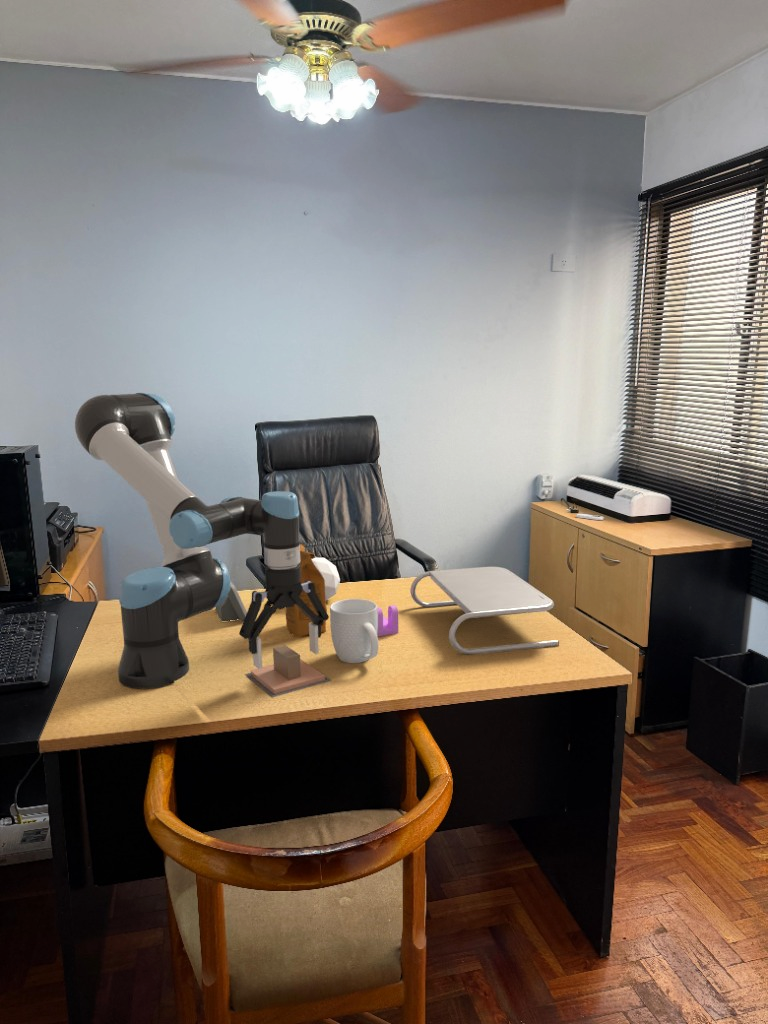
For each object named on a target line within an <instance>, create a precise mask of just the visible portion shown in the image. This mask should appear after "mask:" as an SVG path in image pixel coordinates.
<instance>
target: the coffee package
mask: <svg viewBox="0 0 768 1024" xmlns="http://www.w3.org/2000/svg"><path fill="white" fill-rule="evenodd" d="M315 557H316V555H315V554H314V553H311V552H309V551H306V547H305V546H304V545H303V544H302V543H300V563H299V565H300V566H301V584H303V583H305V581H306V580H308V581H310V582H312V583H314V585H315V591H316V594H317V596H318V597H319V599H320V601H321V603H322V605H323V607H324V608H325V610H326V612H327V613H328V607H327V601H326V596H325V580H324V578H323V576H322V575H321V573H320V572H319V570H318V569H317V568H316V566H315V565H314V563H313V561H312V559H314V558H315ZM299 597H300V598H301V599H302V600H303V601H304V603H305V604H306V605H307V606H308V607H309V608H310V609H311V610H312V611H313V612H314V613H315V614H316V615H317V616H318V613H317V612H316V610H315V608H314V606H313V604H312V602H311V601H310V599H309V597H308V595H307V593H306V592H305V591H304V590H303V591H302V593H301V595H300V596H299ZM285 621H286V627H287V629H288V632H289V634H290V635H293V636H294V637H296V638H297V637H298V638H301V637H306V636H309V623H311V622H312V623H313V621H312V620H311V619H310V618H309V617H308V616H307V615H306V614H305V613H304V612H303V611H302V610H301V609H300V608H299V607H298V606H297V605H296V604H295V605H293V607H286V608H285ZM326 621H327V620H324V621H323V622H324V623H323V625H322V626H321V633H324V632H326V631H327V624H326V623H327V622H326Z"/></svg>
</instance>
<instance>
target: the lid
mask: <svg viewBox="0 0 768 1024" xmlns="http://www.w3.org/2000/svg"><path fill="white" fill-rule="evenodd" d="M272 651H273V653H272V657H273V664H271V665H266V666H262V669H258V668H254V669H250V671H249V673H251V675H252V676H253V677H254V678H255V679H257V680H258V681H259V682H260V683H261V684H263V685H264V686H265V687H266V688H267V689H269V690H270V691H271V692H272V693H274V694H277V693H281V692H284V691H288V690H291V689H295V688H298V687H302V686H305V685H309V684H312V683H316V682H319V681H323V680H325V676H326V675H324V674H323V673H321V672H320V671H318V670H317V669H316V668H315V667H313V666H312V665H310V664H309V663H307V662H306V661H305V660H303V659H301V654H300V653H298V652H297V651H295V650H293V649H292V648H290V647H289V646H288V645H286V644H284V645H280V646H276V647H273V648H272Z"/></svg>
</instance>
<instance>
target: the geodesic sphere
mask: <svg viewBox="0 0 768 1024" xmlns="http://www.w3.org/2000/svg"><path fill="white" fill-rule="evenodd" d="M312 561H313V563H314V565H315V566H316V568H317V569H318V570H319V572H320V573H321V575H322V576H323V578H324V580H325V596H326V602H327V601H328V600H329V599H330V598H332V597H334V596H335V595H336V594H337V591H338V589H339V585H340V582H341V578H340V575H339V572H338V568H337V566H336V565H335V564H333V563H332V562H331V561H330V560H328V559H326V558H325V557H317V556H315V558H314V559H312Z"/></svg>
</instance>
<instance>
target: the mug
mask: <svg viewBox="0 0 768 1024" xmlns="http://www.w3.org/2000/svg"><path fill="white" fill-rule="evenodd" d="M377 608H378V604H377V603H375V601H373V600H369V599H363V598H346V599H341V600H338V601H334V602H333V603H331V604H330V606H329V617H330V618H329V621H330V623H329V624H330V625H329V626H330V634H331V635H330V636H331V641H332V645H333V648H334V652H335V653H336V655H337V657H338V659H339V660H340V661H341V662H343V663H347V664H359V663H363V662H366V661H369V660H371V659H374V658H375V657H377V655H378V653H379V638H378V636H377V630H378V614H377Z"/></svg>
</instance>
